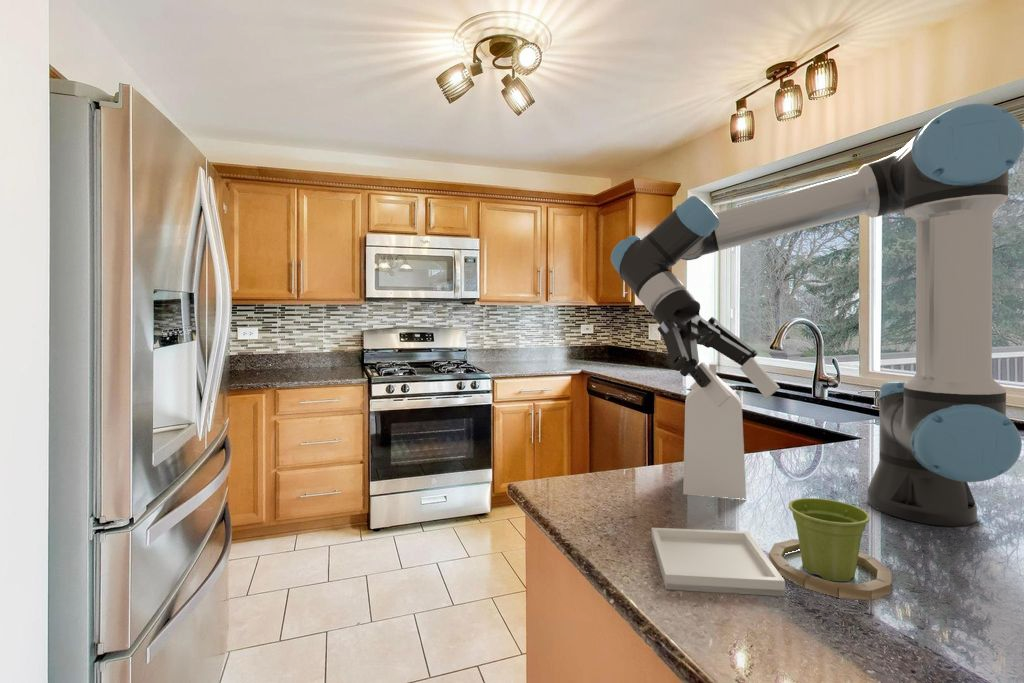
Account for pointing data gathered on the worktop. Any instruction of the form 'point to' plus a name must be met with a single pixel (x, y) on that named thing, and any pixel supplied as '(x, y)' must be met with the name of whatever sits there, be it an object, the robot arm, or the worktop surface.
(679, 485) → the worktop surface
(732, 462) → the milk
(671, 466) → the worktop surface
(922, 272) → the robot arm
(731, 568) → the grey tray
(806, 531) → the plant pot
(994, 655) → the worktop surface
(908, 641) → the worktop surface
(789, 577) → the oak ring
